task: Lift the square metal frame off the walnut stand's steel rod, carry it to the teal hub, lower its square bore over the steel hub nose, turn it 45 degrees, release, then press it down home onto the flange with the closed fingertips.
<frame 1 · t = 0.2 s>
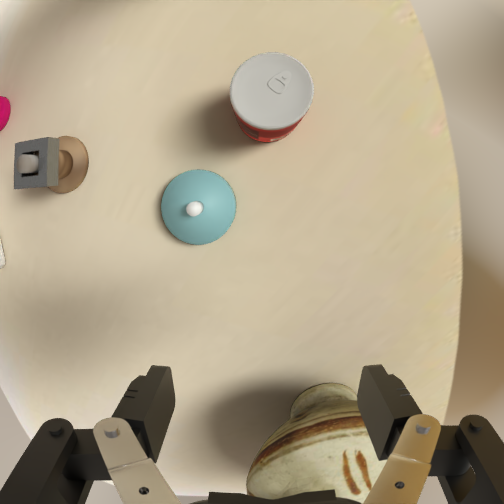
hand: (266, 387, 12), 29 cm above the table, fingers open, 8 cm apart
canned food: (268, 112, 37), on the table
square metal frame: (41, 163, 33), point 6 cm above the table, touching stand
hub: (200, 206, 40), on the table
stand: (65, 164, 38), on the table
amphora: (323, 408, 47), on the table
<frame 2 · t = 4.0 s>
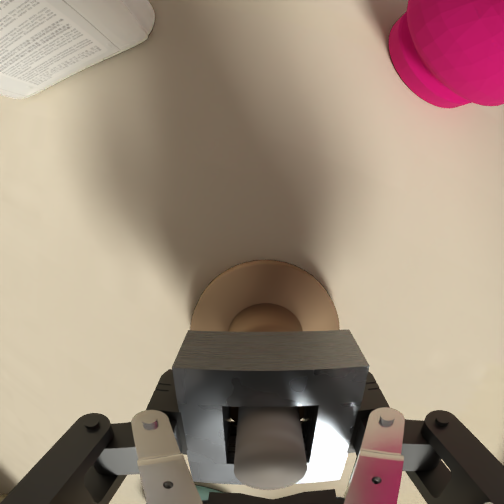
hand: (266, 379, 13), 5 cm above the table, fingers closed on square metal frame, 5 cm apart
square metal frame: (267, 395, 12), point 6 cm above the table, touching gripper, stand
stand: (264, 329, 18), on the table
pepper mill: (432, 60, 14), on the table
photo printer: (81, 48, 14), on the table
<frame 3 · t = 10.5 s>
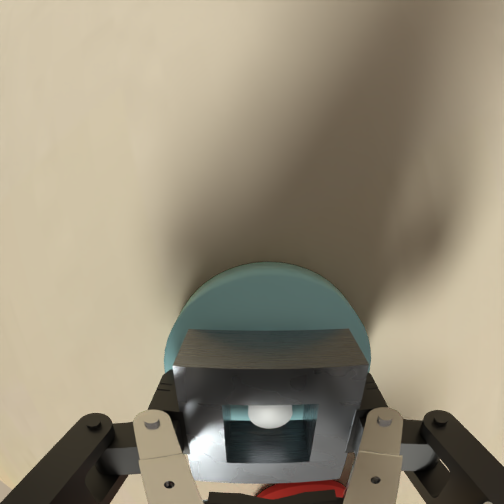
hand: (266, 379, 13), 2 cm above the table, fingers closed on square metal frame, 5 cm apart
canned food: (300, 500, 18), on the table
square metal frame: (267, 394, 12), point 3 cm above the table, touching gripper
hub: (267, 352, 15), on the table
when the fingers open (2 cm above the table, at t = 10.7 s): square metal frame drops 1 cm, resting on hub.
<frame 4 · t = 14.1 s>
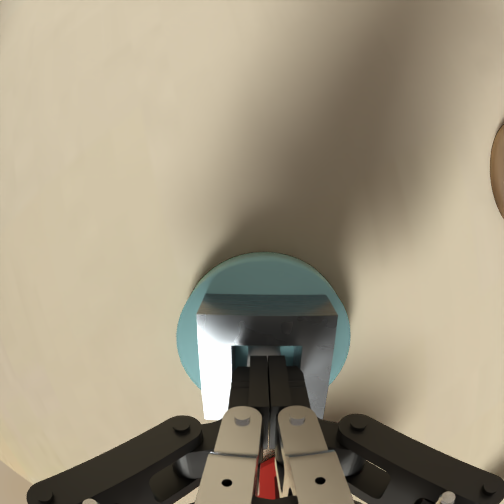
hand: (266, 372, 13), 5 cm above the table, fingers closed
canned food: (295, 475, 21), on the table
square metal frame: (264, 347, 16), point 2 cm above the table, touching hub
hub: (263, 329, 18), on the table
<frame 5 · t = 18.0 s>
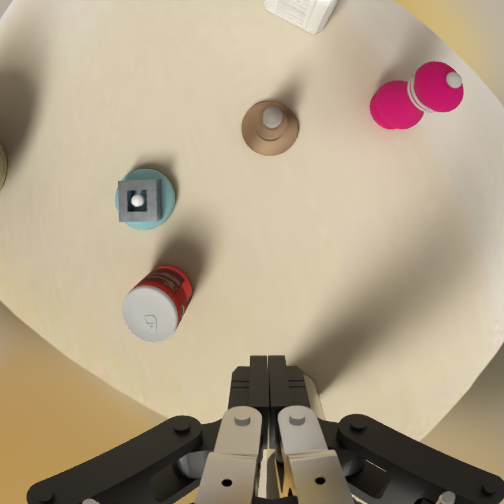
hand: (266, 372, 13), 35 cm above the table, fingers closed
canned food: (170, 287, 50), on the table
square metal frame: (143, 199, 45), point 2 cm above the table, touching hub
hub: (147, 198, 47), on the table
stand: (269, 128, 44), on the table
pepper mill: (387, 110, 43), on the table
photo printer: (294, 15, 40), on the table
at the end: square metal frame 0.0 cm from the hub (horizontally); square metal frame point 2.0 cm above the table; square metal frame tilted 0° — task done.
